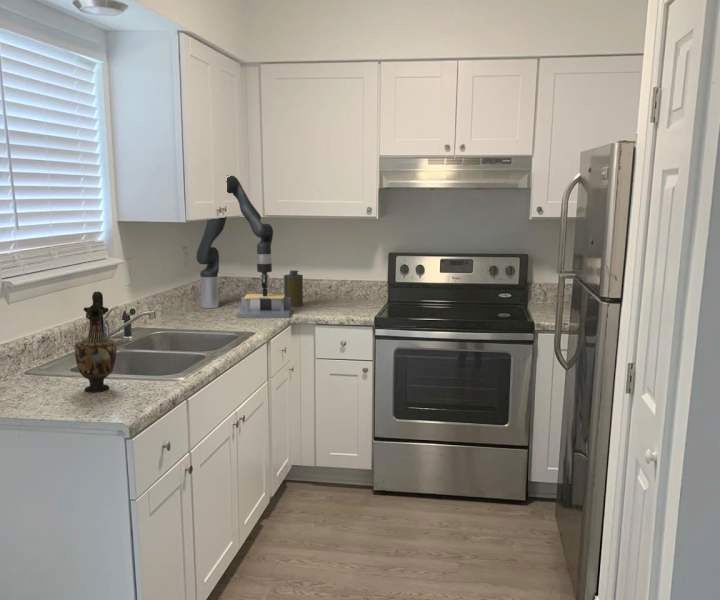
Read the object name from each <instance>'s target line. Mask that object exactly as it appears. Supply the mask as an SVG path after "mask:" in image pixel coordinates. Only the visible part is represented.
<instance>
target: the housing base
mask: <svg viewBox="0 0 720 600" xmlns="http://www.w3.org/2000/svg"><path fill="white" fill-rule="evenodd" d="M244 297H245V296H241V298H240V300H241V307H240V310H239V311H238V312H237V314H236V318H237V319H289V318H290V315H291V308H292V307H291V297H285V296H284V299H281V310H276V311H272V303H271V299H261V310H260V311H250V299H244Z"/></svg>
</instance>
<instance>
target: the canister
mask: <svg viewBox="0 0 720 600" xmlns="http://www.w3.org/2000/svg"><path fill="white" fill-rule="evenodd" d="M298 272H299V270H289V272H288V273H289V274H284V275H283V294H285V296H284V297H291V308H300V307H303V306H304V303H303V302H304V301H303V300H304V299H303V297H304V294H303V293H304V289H303V288H304V287H303V276H304V275H303V274H298Z"/></svg>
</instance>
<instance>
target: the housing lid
mask: <svg viewBox="0 0 720 600" xmlns="http://www.w3.org/2000/svg"><path fill="white" fill-rule="evenodd" d="M243 297H244V299H284V297H285V294H284V293H267V296H263V293H246V294H245V295H244V296H243Z"/></svg>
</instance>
